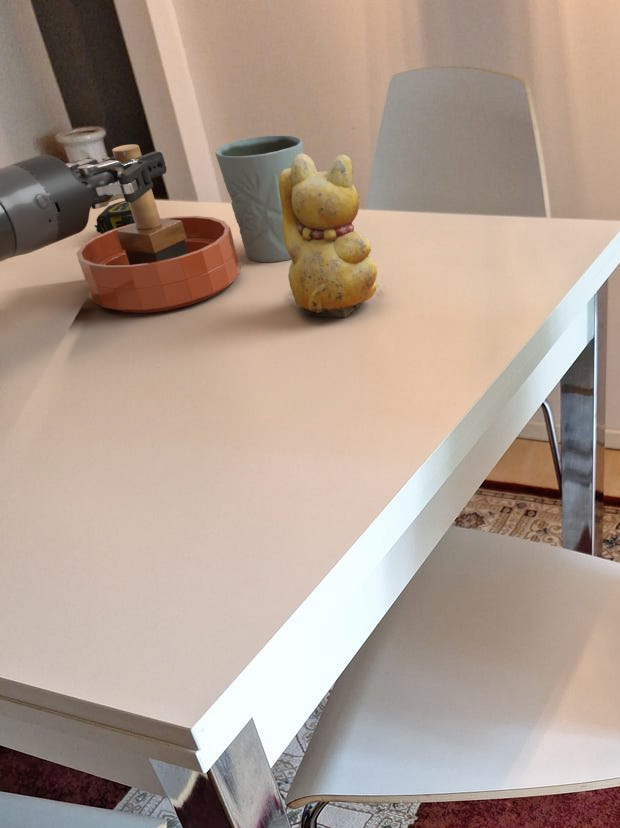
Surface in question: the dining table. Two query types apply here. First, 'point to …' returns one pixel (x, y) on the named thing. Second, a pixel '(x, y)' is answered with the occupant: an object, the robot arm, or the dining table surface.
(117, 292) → the bowl
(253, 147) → the grey-blue cup
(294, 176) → the decorative figurine
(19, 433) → the dining table surface
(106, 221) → the tape measure
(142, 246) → the wooden rod on block
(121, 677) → the dining table surface
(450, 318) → the dining table surface
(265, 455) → the dining table surface
